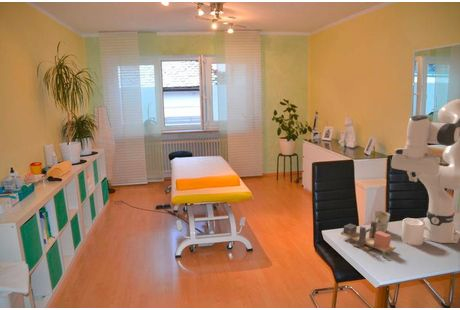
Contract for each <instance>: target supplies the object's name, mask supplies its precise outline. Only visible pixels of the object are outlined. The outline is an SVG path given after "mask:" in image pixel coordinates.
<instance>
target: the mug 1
mask: <svg viewBox="0 0 460 310" xmlns="http://www.w3.org/2000/svg"><path fill="white" fill-rule="evenodd" d="M390 217H391V213H389V212H387V211H382V210H381V211H380V210H378V211H377V210H376V211H374V212H373V221H375V222H377V226H376V232H378V231H381V232H384V233H386V232H387V230H388V227H389V226H388V225H389V222H390Z"/></svg>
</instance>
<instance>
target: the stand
mask: <svg viewBox="0 0 460 310" xmlns="http://www.w3.org/2000/svg"><path fill="white" fill-rule="evenodd" d="M376 226H377V222H375V221H374V220H371V221H370V227H373V228H374V229H372V238H374V239H375V233H376V232H377V231H376ZM365 230H367V227H365V226H361V225H360V227H359V233H360V234H359V241H357V242H355V243H354V244H353V245H352V246H353V247H355V248H357V249H360V250H363V251H365V252H369V251H371V250H373V249H375V248H374V247H371V246H369V245H366V244H365ZM386 255H387V254H386V251H382V255H381V256H382V258H386Z"/></svg>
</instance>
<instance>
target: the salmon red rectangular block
mask: <svg viewBox="0 0 460 310" xmlns="http://www.w3.org/2000/svg"><path fill="white" fill-rule="evenodd" d="M391 236H392V234H389V233H386V232H381V231H378V232H377V231H376V233H375V239H374V244H375V245H377V246H380V247H383V248H385V249H386V248H387V247H389V246H390V245H391Z"/></svg>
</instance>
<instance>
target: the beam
mask: <svg viewBox="0 0 460 310" xmlns="http://www.w3.org/2000/svg"><path fill="white" fill-rule="evenodd" d="M357 228H358V226H357V225H356V224H353V223H348V224H346V225H344V226H343V231H341V232H340V234H341V235H342V236H344V237H347V238H350V239H352V240H354V241H357V242H359V234H360V232H358V231H357ZM372 229H374V228H373V227H371V226H370V227H369V228H366V230H365V244H366V245H369V246H371V247H374V248H373V249H376V250H379V251H381V252H383V251H386V253H387V254H389V253H391V252H393V251H394V250H396V246H395V245H392V244H390V246H389V247H387V248H386V249H385V248H383V247H380V246H377V245H375V244H374V238H372ZM368 232H369V234H368V235H367V233H368Z"/></svg>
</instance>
